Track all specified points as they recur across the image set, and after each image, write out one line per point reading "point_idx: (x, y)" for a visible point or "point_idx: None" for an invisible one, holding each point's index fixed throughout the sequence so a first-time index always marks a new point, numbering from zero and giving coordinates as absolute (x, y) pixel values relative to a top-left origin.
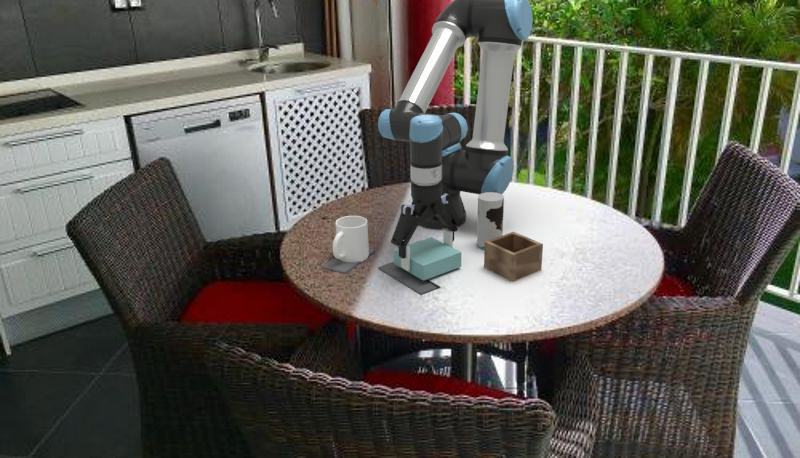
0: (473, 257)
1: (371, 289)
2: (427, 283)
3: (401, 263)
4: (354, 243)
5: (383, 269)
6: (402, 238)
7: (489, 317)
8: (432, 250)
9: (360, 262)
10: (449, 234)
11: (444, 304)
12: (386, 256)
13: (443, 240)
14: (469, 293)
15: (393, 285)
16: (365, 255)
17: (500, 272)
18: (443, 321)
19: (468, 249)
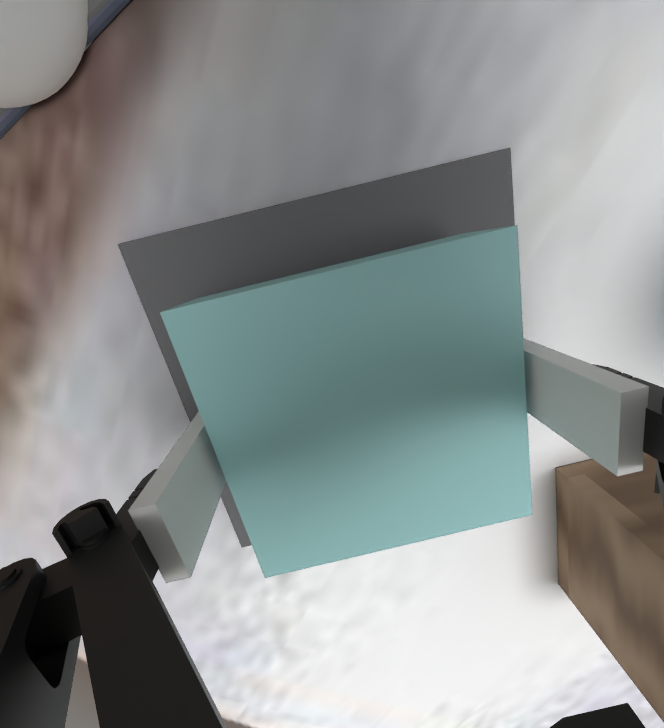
0: (609, 341)
1: (50, 436)
2: None
3: (195, 419)
4: None
5: (142, 288)
6: (62, 697)
7: (378, 694)
8: (403, 436)
9: (23, 111)
10: (598, 455)
11: (293, 612)
12: (213, 99)
13: (543, 358)
14: (405, 582)
15: (158, 439)
16: (34, 80)
17: (577, 563)
18: (248, 680)
19: (656, 246)
